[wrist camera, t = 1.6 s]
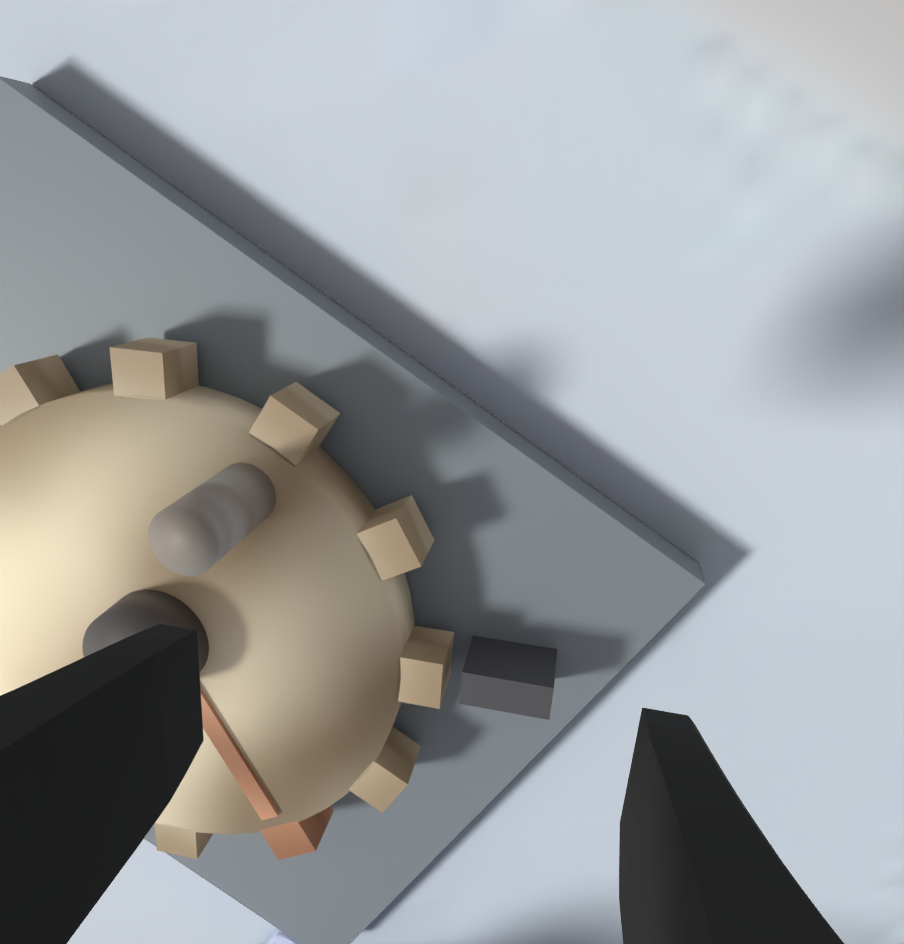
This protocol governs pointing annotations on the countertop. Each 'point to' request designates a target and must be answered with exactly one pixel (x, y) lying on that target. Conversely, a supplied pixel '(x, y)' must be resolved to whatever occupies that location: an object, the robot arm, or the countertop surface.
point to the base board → (372, 469)
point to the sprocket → (218, 582)
